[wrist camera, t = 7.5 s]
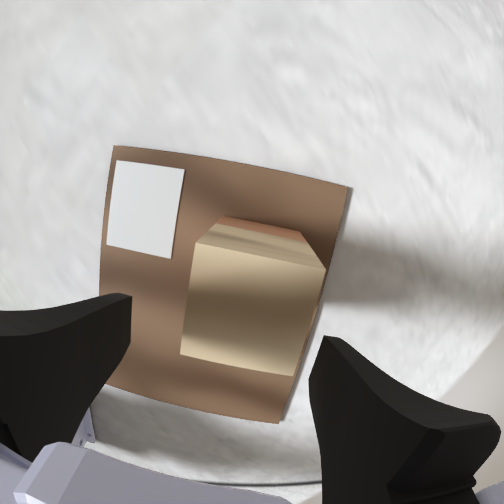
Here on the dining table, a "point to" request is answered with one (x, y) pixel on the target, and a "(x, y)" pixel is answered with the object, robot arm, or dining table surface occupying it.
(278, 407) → the build board
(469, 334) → the dining table surface
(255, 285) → the maple block
